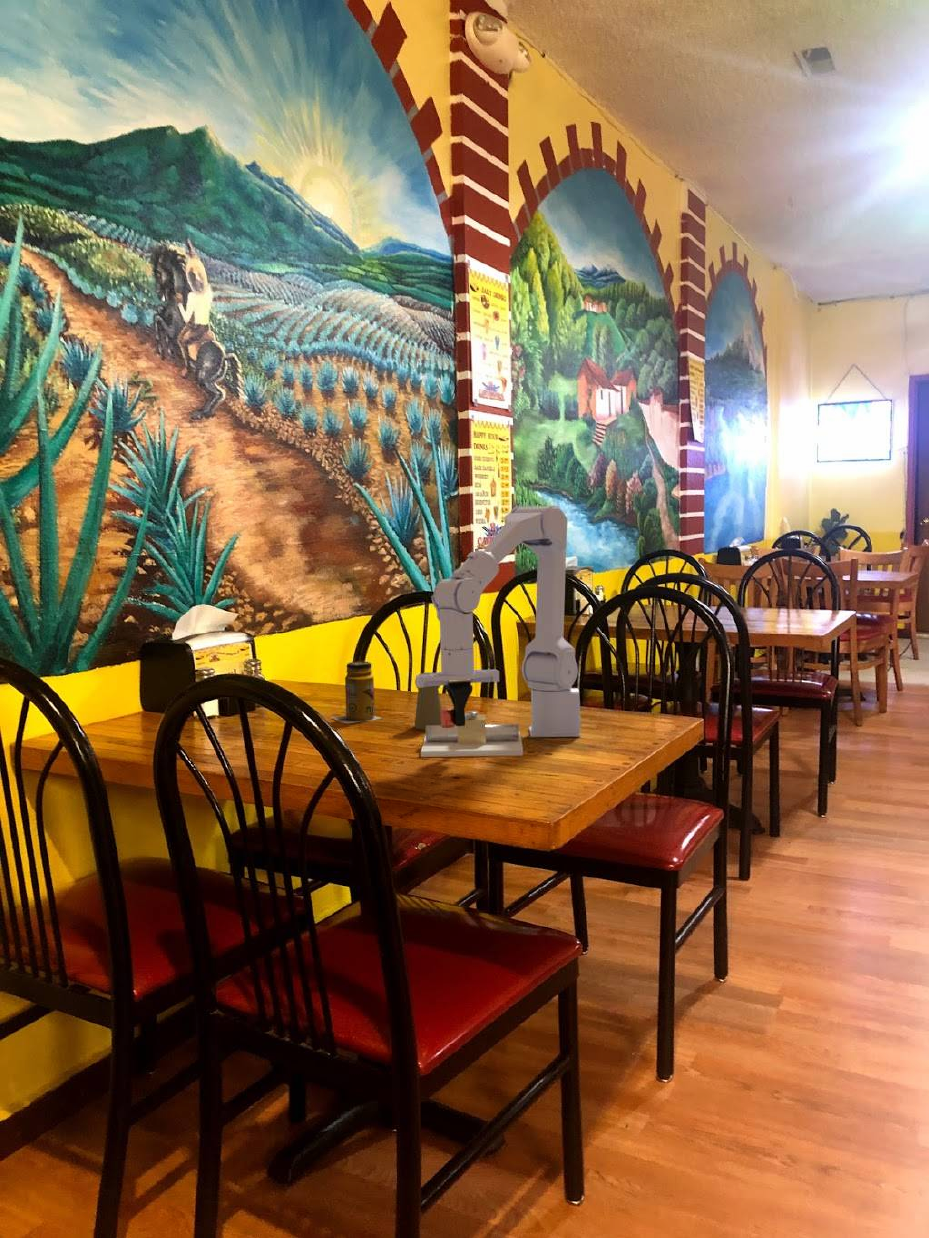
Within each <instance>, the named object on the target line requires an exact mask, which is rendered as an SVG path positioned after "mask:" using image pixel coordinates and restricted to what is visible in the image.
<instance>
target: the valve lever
mask: <svg viewBox="0 0 929 1238" xmlns="http://www.w3.org/2000/svg"><path fill="white" fill-rule="evenodd" d="M478 715H479V711H477V710H467V711H465V720H468V719H470V718H476V717H478ZM441 727H442V728H452V727H455V724H454V708H448V707H446V708H441Z"/></svg>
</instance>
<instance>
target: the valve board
mask: <svg viewBox="0 0 929 1238" xmlns="http://www.w3.org/2000/svg"><path fill="white" fill-rule="evenodd" d="M424 735H425V736H424V739H423V742H422V746H421V750H420V757H421V758H428V757H429V758H430V757H431V758H437V757H439V758H440V757H441V758H442V757H445V758H446V757H447V758H449V757H506V756H507V757H509V756H511V757H513V756H516V757H517V756H518V757H519V756H523V755H524V749H523V743H522V737H521V732H520V731H519V741H486V744H458V741H457V742H426V734H424Z"/></svg>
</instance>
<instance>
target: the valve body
mask: <svg viewBox="0 0 929 1238" xmlns="http://www.w3.org/2000/svg"><path fill="white" fill-rule="evenodd" d="M486 719H487V718H486V714H478V717H476V718H470V719H468V720H465V726H456V725H455V727H452V728H442V727H441V725H431V726H426V730H425V735H426V742H457V741H458V744H486V741H519V732H520V731H519V724H518V723H516V724H515V723H511V724H506V723H504V724H486V723H487V721H486Z"/></svg>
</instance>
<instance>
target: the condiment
mask: <svg viewBox="0 0 929 1238" xmlns="http://www.w3.org/2000/svg"><path fill="white" fill-rule="evenodd" d="M372 673H373V670H372V663H371V662H370V661H352V662H348V663H347V664H346V675H345V677H344V682H345V683H344V685H345V686H344V687H345V714H346V715H341V716H332V717H331V718H330V719H333V720H335V721H337V722H340V723H343V724H354V723H359V722H361V723H362V722H371V721H376V720H381V719H383V718H382V717H379V716H375V686H374V685H375V682H374V681H375V680H374V674H372Z"/></svg>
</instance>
